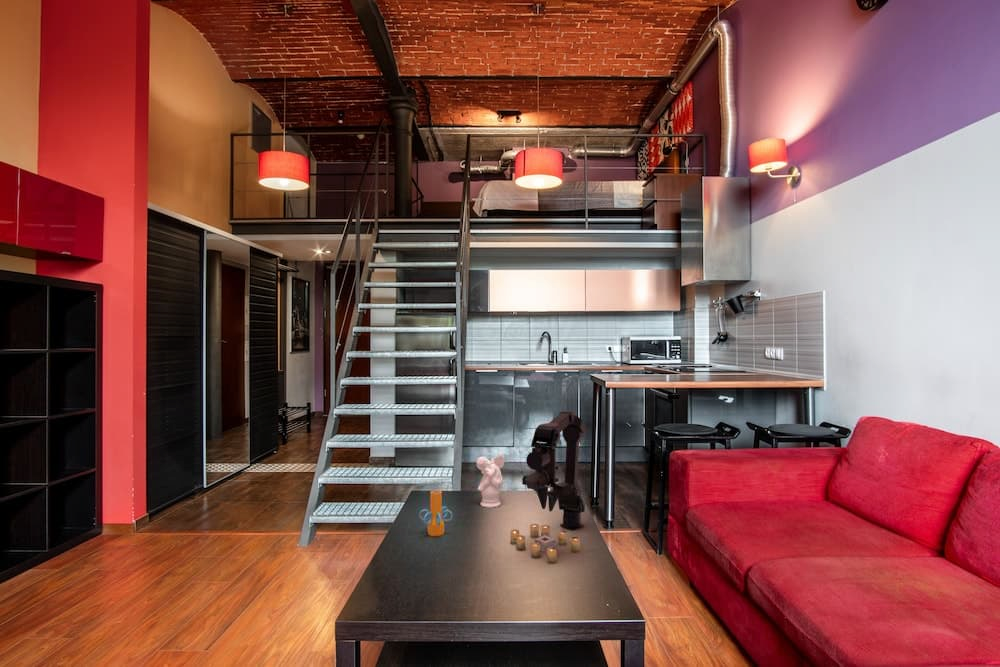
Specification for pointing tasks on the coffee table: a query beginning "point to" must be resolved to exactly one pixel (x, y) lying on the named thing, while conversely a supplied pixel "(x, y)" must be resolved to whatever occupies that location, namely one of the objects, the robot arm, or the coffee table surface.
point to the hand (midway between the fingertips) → (547, 510)
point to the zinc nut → (546, 542)
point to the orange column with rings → (436, 514)
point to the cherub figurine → (490, 480)
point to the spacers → (535, 546)
